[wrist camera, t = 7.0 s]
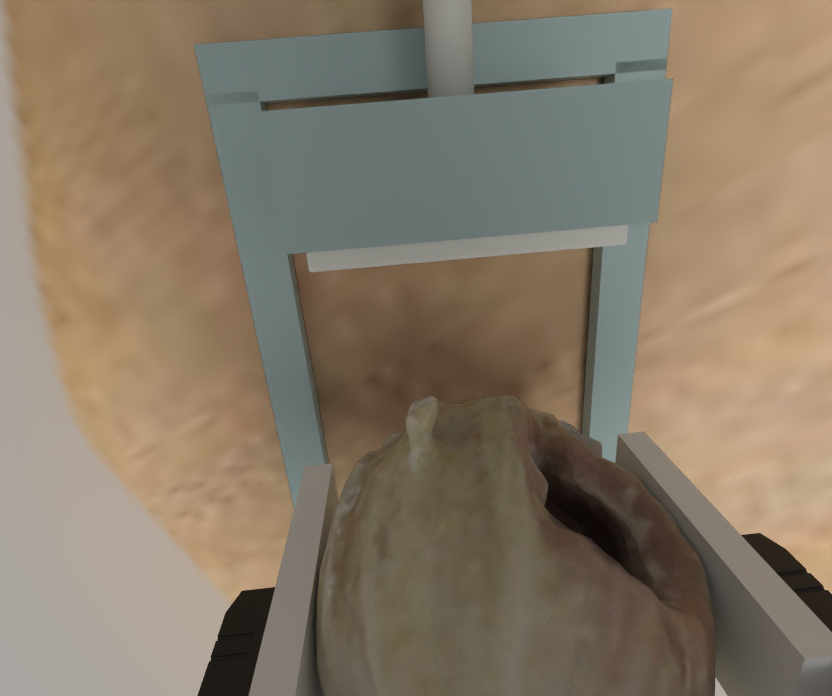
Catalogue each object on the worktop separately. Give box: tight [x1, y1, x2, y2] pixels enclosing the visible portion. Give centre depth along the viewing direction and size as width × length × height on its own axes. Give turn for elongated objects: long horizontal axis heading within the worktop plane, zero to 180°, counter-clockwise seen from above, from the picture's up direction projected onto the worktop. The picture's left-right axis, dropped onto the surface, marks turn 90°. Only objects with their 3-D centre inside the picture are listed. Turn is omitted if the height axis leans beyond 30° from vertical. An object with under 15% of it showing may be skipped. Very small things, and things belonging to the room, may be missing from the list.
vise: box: [194, 8, 672, 509], centre depth 17 cm, size 22×14×6 cm, turn 4°
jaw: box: [258, 0, 673, 273], centre depth 13 cm, size 9×9×6 cm
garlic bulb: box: [316, 395, 716, 696], centre depth 11 cm, size 9×8×10 cm
